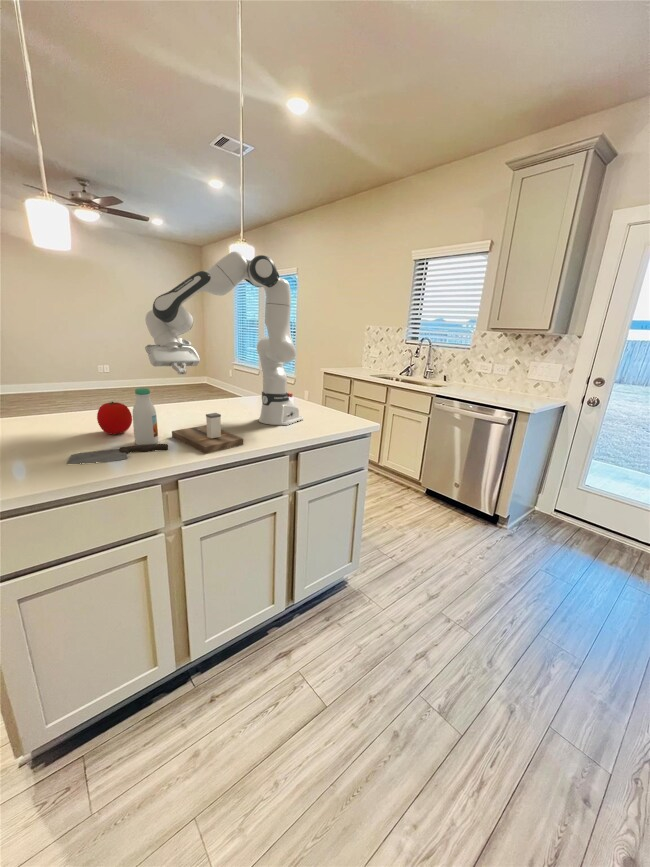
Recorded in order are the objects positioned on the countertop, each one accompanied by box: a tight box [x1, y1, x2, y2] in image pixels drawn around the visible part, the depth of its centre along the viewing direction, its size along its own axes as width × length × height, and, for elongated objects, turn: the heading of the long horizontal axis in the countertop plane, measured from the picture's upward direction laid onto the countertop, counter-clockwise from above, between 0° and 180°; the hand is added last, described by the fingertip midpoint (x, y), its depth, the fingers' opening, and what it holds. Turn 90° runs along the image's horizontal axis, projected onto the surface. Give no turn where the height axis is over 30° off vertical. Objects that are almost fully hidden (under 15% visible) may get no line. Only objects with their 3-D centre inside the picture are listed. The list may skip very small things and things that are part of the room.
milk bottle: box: [132, 387, 159, 445], centre depth 127 cm, size 8×8×20 cm
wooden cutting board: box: [171, 424, 244, 455], centre depth 136 cm, size 16×24×2 cm, turn 49°
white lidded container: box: [205, 412, 222, 439], centre depth 131 cm, size 4×3×9 cm
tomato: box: [96, 401, 133, 435], centre depth 136 cm, size 12×12×13 cm
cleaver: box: [66, 443, 169, 465], centre depth 117 cm, size 30×10×2 cm, turn 121°
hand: (182, 373), depth 141 cm, fingers closed
